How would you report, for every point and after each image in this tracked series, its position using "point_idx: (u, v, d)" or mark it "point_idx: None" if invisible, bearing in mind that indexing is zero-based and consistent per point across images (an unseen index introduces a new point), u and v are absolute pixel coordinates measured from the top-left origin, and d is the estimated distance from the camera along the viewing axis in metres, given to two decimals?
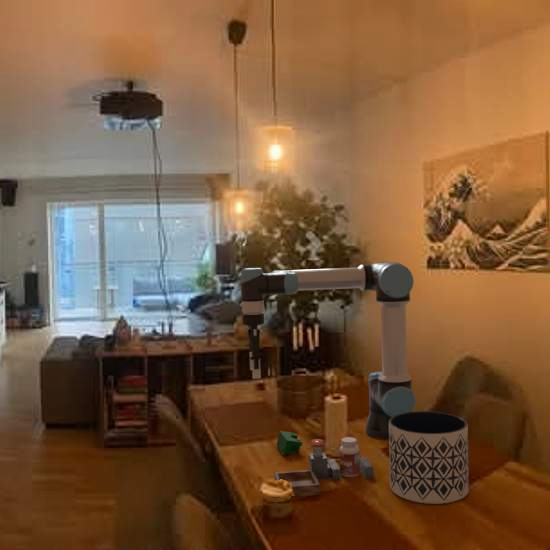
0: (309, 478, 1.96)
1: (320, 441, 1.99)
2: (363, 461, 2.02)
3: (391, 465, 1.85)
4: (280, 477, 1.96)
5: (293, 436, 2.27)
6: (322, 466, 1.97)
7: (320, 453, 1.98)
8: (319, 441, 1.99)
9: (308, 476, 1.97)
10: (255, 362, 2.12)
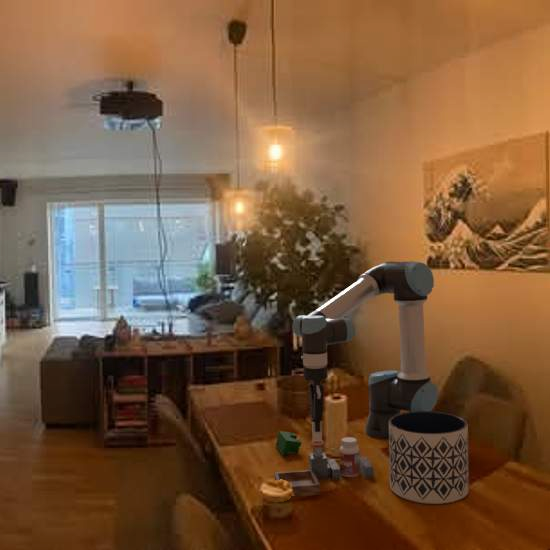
0: (309, 478, 1.96)
1: (320, 441, 1.99)
2: (363, 461, 2.02)
3: (391, 465, 1.85)
4: (280, 477, 1.96)
5: (292, 436, 2.27)
6: (322, 466, 1.97)
7: (320, 453, 1.98)
8: (319, 442, 1.99)
9: (308, 476, 1.97)
10: (316, 424, 1.97)
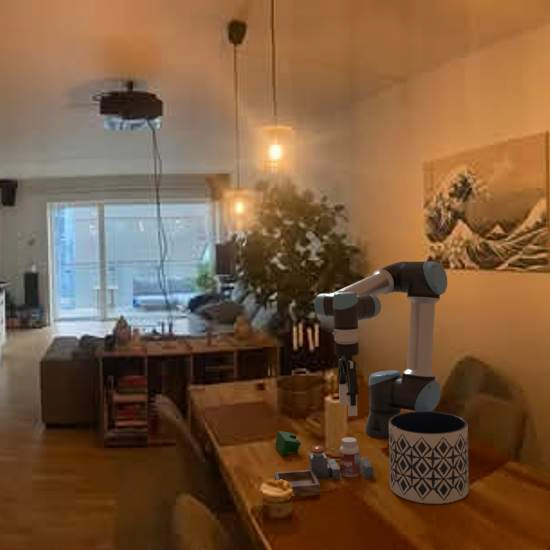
0: (309, 478, 1.96)
1: (320, 447, 1.99)
2: (363, 461, 2.02)
3: (391, 465, 1.85)
4: (280, 477, 1.96)
5: (292, 436, 2.26)
6: (322, 466, 1.97)
7: None
8: (319, 448, 1.99)
9: (308, 476, 1.97)
10: (352, 398, 1.91)
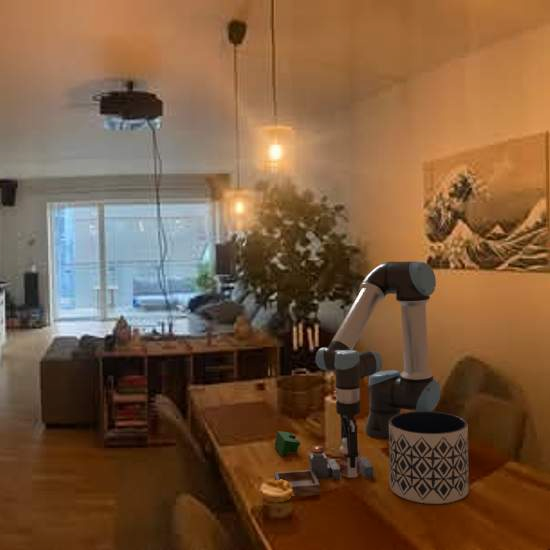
0: (309, 478, 1.96)
1: (320, 447, 1.99)
2: (363, 461, 2.02)
3: (391, 465, 1.85)
4: (280, 477, 1.96)
5: (291, 436, 2.26)
6: (322, 466, 1.97)
7: None
8: (319, 448, 1.99)
9: (308, 476, 1.97)
10: (352, 460, 1.96)
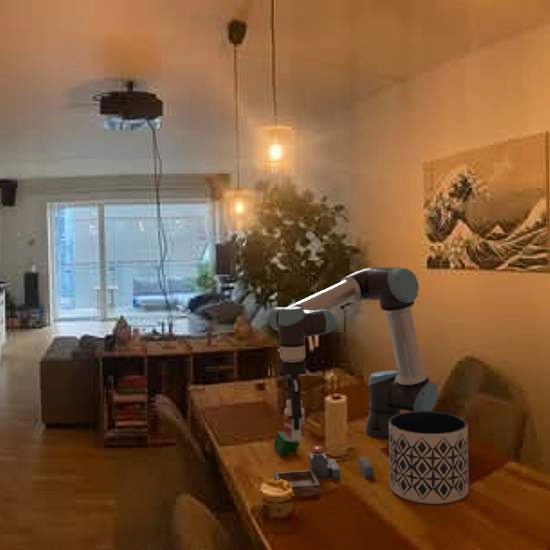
0: (309, 478, 1.96)
1: (320, 447, 1.99)
2: (363, 461, 2.02)
3: (391, 465, 1.85)
4: (280, 477, 1.96)
5: None
6: (322, 466, 1.97)
7: None
8: (319, 448, 1.99)
9: (308, 476, 1.97)
10: (295, 422, 1.85)
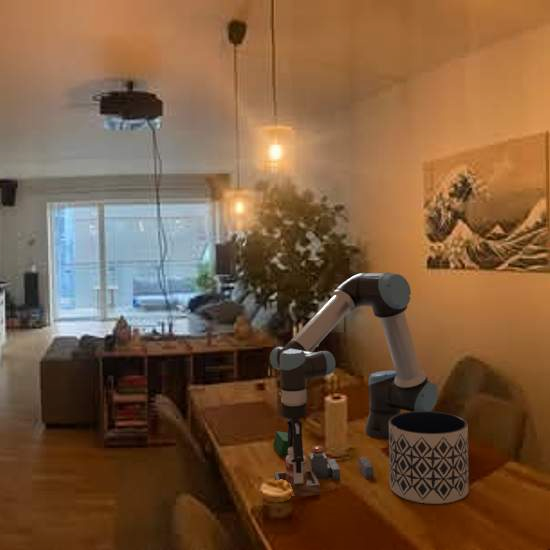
0: (309, 478, 1.96)
1: (320, 447, 1.99)
2: (363, 461, 2.02)
3: (391, 465, 1.85)
4: (280, 477, 1.96)
5: None
6: (322, 466, 1.97)
7: None
8: (319, 448, 1.99)
9: (308, 476, 1.97)
10: (297, 465, 1.84)
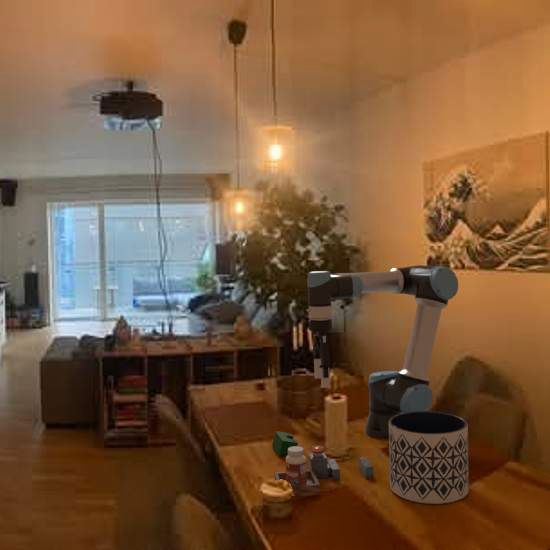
0: (309, 478, 1.96)
1: (320, 447, 1.99)
2: (363, 461, 2.02)
3: (391, 465, 1.85)
4: (280, 477, 1.96)
5: (289, 436, 2.26)
6: (322, 466, 1.97)
7: None
8: (319, 448, 1.99)
9: (308, 476, 1.97)
10: (325, 370, 2.02)
